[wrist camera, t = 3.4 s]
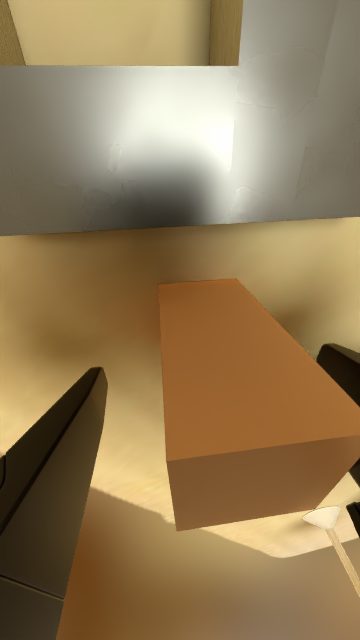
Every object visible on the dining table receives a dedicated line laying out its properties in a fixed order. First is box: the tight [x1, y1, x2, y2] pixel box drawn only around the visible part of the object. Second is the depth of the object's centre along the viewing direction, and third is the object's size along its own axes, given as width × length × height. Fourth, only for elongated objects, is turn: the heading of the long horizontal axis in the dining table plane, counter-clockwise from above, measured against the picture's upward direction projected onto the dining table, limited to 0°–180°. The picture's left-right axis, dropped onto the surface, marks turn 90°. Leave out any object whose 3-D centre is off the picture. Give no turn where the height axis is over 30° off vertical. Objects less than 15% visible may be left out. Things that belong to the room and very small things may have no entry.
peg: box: [158, 278, 360, 531], centre depth 8 cm, size 4×4×8 cm
